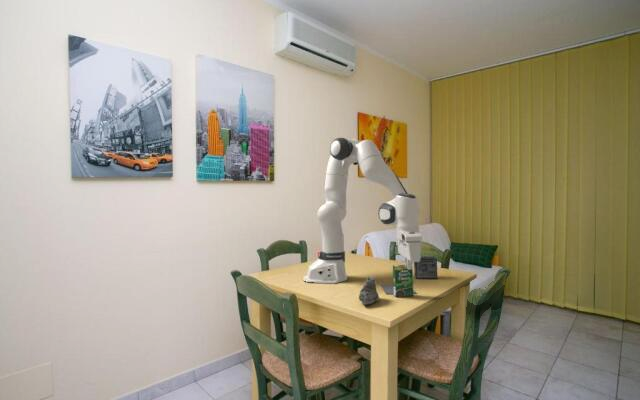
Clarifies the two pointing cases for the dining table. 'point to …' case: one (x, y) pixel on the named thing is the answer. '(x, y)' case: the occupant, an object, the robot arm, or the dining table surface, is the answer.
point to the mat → (390, 289)
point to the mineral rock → (369, 292)
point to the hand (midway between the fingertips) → (408, 268)
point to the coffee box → (402, 281)
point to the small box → (426, 268)
